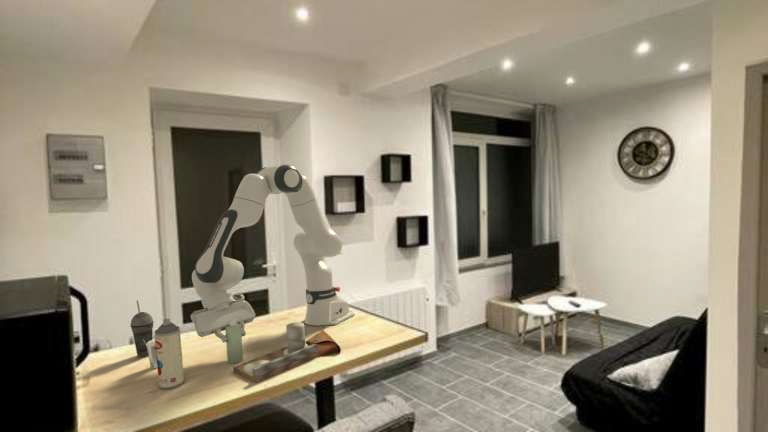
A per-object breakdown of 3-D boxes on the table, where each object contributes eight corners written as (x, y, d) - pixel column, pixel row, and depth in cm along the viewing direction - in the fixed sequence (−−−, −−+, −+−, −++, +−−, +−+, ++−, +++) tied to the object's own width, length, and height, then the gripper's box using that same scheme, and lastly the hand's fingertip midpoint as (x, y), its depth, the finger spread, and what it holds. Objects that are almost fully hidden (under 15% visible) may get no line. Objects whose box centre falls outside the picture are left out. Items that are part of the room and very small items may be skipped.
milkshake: (146, 366, 142) (143, 337, 142) (164, 362, 145) (161, 334, 144) (144, 371, 138) (142, 341, 138) (163, 367, 140) (160, 338, 140)
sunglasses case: (303, 341, 159) (311, 324, 160) (319, 347, 162) (327, 330, 163) (317, 357, 143) (326, 339, 144) (335, 364, 146) (343, 346, 147)
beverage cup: (146, 359, 148) (141, 303, 146) (128, 359, 149) (123, 303, 148) (161, 351, 155) (156, 297, 153) (143, 350, 156) (139, 297, 155)
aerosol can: (157, 383, 129) (151, 319, 127) (181, 377, 133) (176, 314, 131) (160, 392, 123) (155, 324, 122) (186, 384, 127) (181, 319, 126)
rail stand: (295, 347, 154) (294, 318, 153) (319, 355, 145) (317, 325, 144) (233, 371, 135) (231, 338, 134) (256, 382, 127) (254, 347, 126)
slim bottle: (238, 356, 147) (235, 316, 146) (246, 359, 144) (243, 319, 143) (224, 361, 144) (221, 320, 143) (232, 365, 140) (229, 323, 139)
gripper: (191, 307, 139) (207, 342, 134) (247, 293, 155) (264, 324, 149) (186, 318, 142) (202, 353, 137) (241, 303, 158) (257, 334, 152)
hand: (234, 338), depth 143 cm, fingers closed on slim bottle, 5 cm apart
